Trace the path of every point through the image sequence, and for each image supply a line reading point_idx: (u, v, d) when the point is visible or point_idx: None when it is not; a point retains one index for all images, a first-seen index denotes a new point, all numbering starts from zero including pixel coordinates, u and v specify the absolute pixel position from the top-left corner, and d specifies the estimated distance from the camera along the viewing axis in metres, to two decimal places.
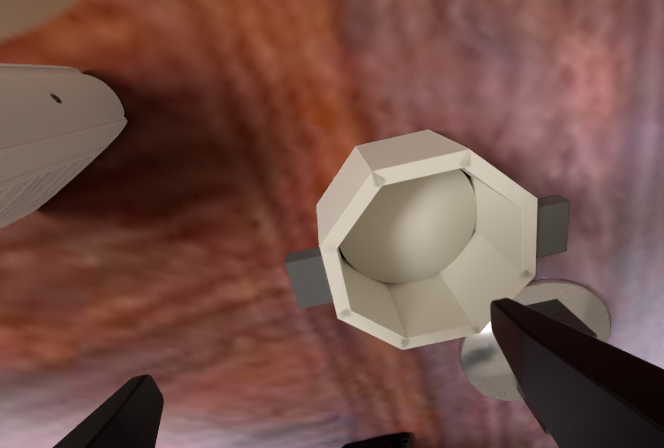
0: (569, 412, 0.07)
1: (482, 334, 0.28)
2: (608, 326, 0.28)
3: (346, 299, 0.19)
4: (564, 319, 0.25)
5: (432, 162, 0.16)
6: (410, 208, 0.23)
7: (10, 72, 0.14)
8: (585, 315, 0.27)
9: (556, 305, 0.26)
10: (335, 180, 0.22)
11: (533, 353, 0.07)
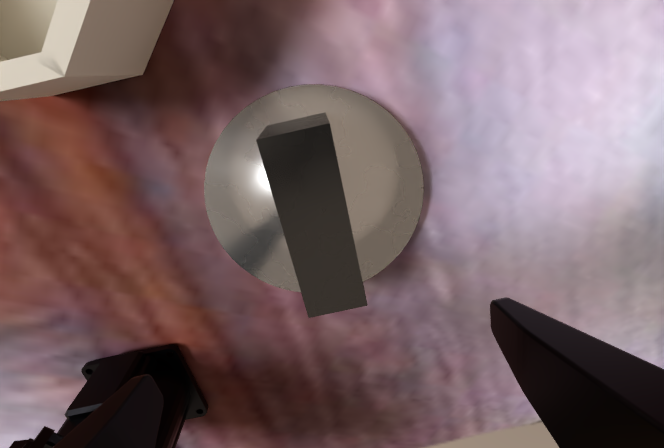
0: (569, 412, 0.07)
1: (226, 175, 0.19)
2: (419, 167, 0.19)
3: None
4: (307, 122, 0.16)
5: None
6: None
7: None
8: (378, 145, 0.18)
9: (315, 116, 0.17)
10: None
11: (533, 353, 0.07)
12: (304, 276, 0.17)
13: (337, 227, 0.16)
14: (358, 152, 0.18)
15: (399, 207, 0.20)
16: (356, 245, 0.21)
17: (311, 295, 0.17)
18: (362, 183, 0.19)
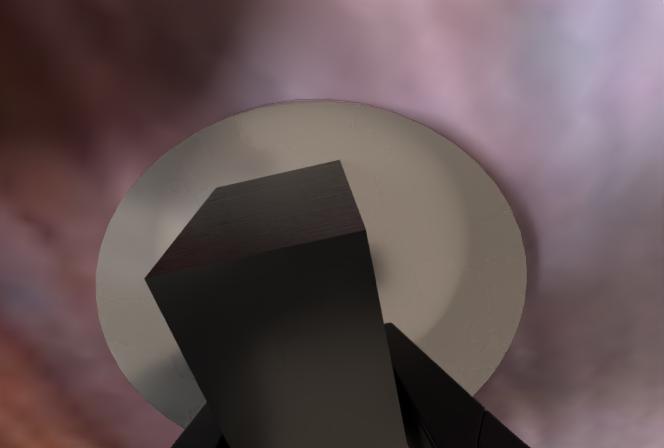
0: (415, 444, 0.07)
1: (140, 282, 0.09)
2: (521, 260, 0.10)
3: None
4: (299, 198, 0.06)
5: None
6: None
7: None
8: (447, 222, 0.09)
9: (319, 172, 0.08)
10: None
11: None
12: None
13: None
14: (405, 235, 0.09)
15: (476, 329, 0.11)
16: None
17: None
18: (410, 290, 0.10)
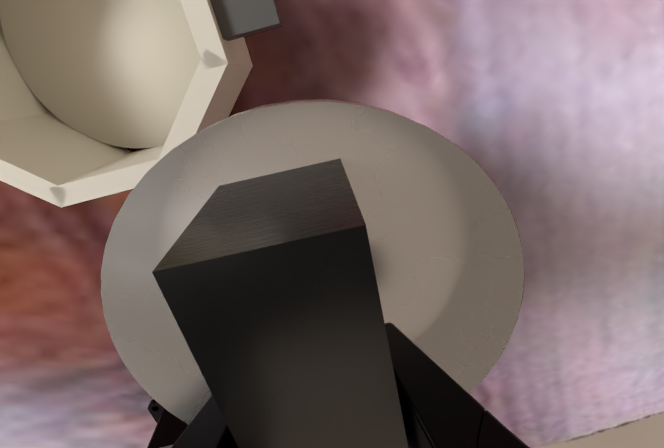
0: (414, 444, 0.07)
1: (144, 278, 0.09)
2: (518, 257, 0.10)
3: None
4: (301, 196, 0.06)
5: None
6: (114, 17, 0.15)
7: None
8: (445, 220, 0.09)
9: (320, 170, 0.08)
10: None
11: None
12: None
13: (373, 446, 0.07)
14: (405, 232, 0.09)
15: (474, 325, 0.11)
16: None
17: None
18: (409, 287, 0.10)
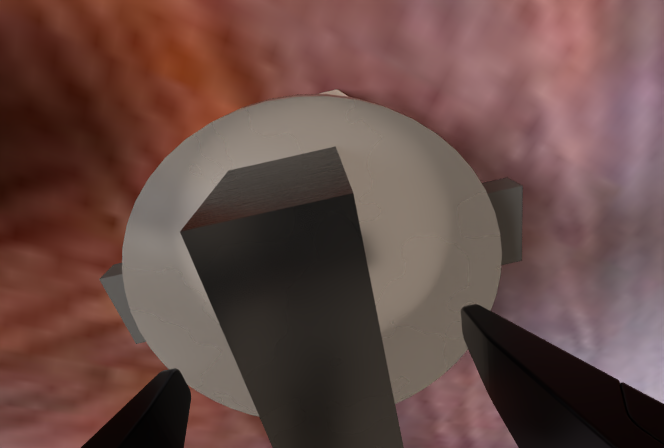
0: (529, 420, 0.07)
1: (161, 254, 0.10)
2: (496, 237, 0.11)
3: None
4: (301, 175, 0.08)
5: None
6: None
7: None
8: (429, 202, 0.10)
9: (318, 155, 0.09)
10: None
11: (497, 361, 0.07)
12: None
13: (363, 390, 0.08)
14: (394, 213, 0.10)
15: (457, 299, 0.12)
16: None
17: None
18: (398, 263, 0.11)
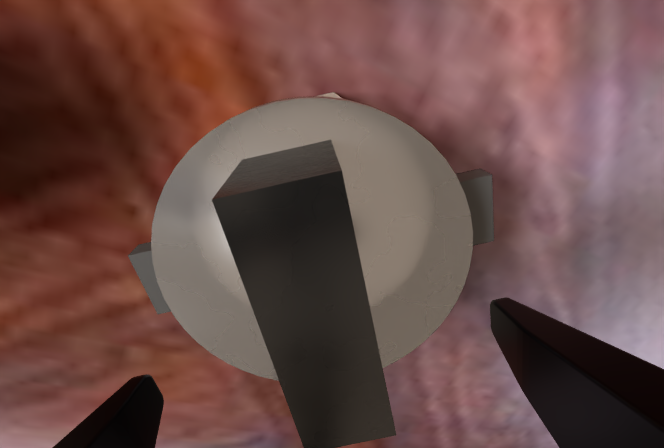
0: (569, 412, 0.07)
1: (184, 231, 0.12)
2: (467, 217, 0.13)
3: None
4: (303, 160, 0.10)
5: None
6: None
7: None
8: (410, 187, 0.12)
9: (316, 146, 0.11)
10: None
11: (533, 353, 0.07)
12: (298, 400, 0.11)
13: (351, 331, 0.10)
14: (380, 196, 0.12)
15: (436, 272, 0.14)
16: (374, 322, 0.15)
17: (309, 424, 0.11)
18: (384, 240, 0.13)
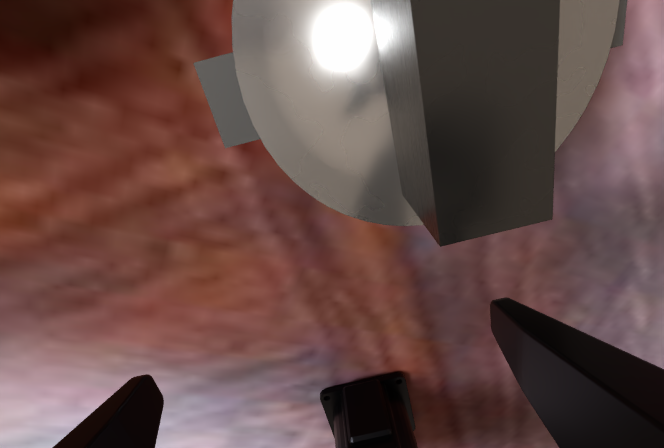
0: (569, 412, 0.07)
1: None
2: None
3: None
4: None
5: None
6: None
7: None
8: None
9: None
10: None
11: (533, 353, 0.07)
12: (443, 156, 0.08)
13: (529, 36, 0.07)
14: None
15: (567, 64, 0.11)
16: None
17: (451, 198, 0.09)
18: None
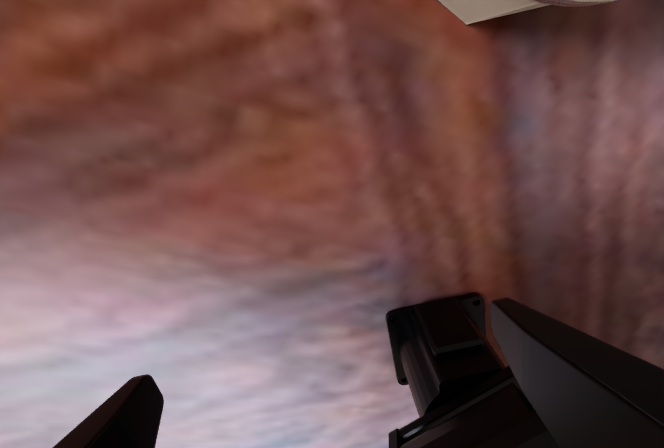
0: (569, 412, 0.07)
1: None
2: None
3: None
4: None
5: None
6: None
7: None
8: None
9: None
10: None
11: (533, 353, 0.07)
12: None
13: None
14: None
15: None
16: None
17: None
18: None
